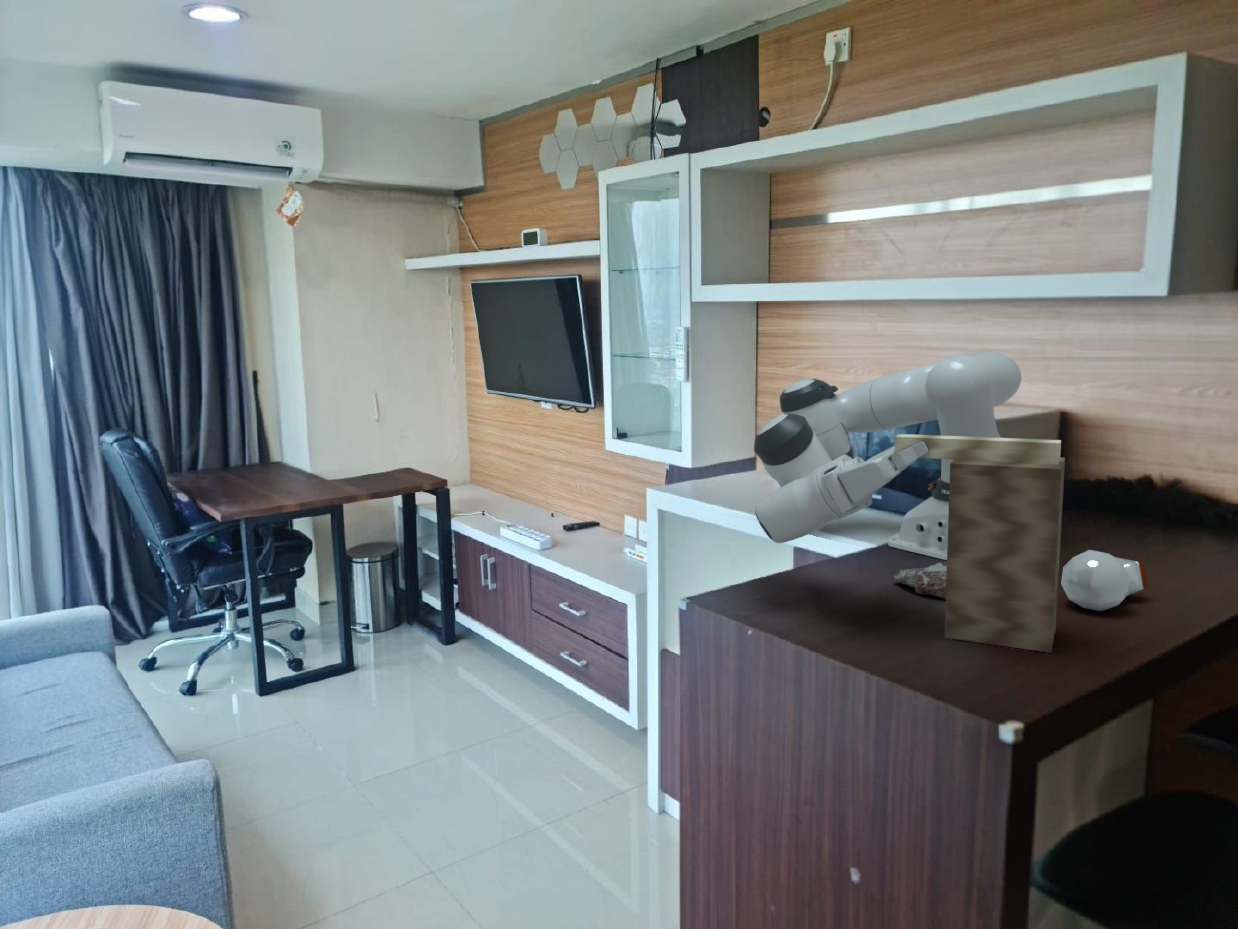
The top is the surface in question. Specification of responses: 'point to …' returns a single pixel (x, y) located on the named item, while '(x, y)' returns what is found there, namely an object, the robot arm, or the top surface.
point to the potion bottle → (1101, 579)
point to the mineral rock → (925, 579)
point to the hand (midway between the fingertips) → (929, 443)
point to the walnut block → (1004, 552)
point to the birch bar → (984, 448)
